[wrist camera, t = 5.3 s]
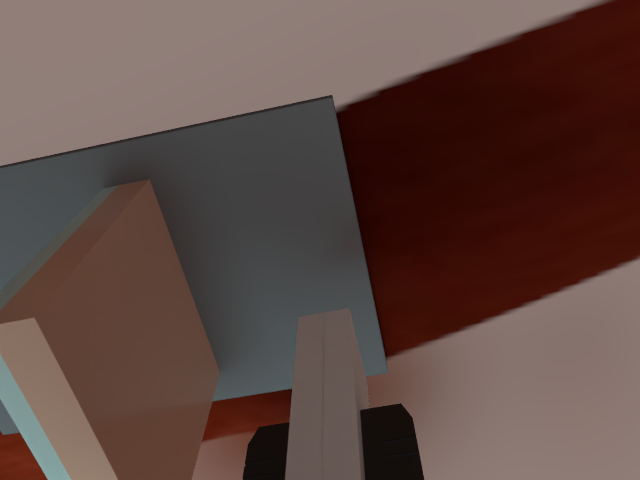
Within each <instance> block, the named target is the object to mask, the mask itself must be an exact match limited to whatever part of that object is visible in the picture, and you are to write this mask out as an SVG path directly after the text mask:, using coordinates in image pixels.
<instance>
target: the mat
mask: <svg viewBox="0 0 640 480" xmlns="http://www.w3.org/2000/svg"><path fill="white" fill-rule="evenodd" d="M147 179H150V182H151V185H152V187H153V190H154V193H155V196H156V198H157V201H158V204H159V207H160V209H161V212H162V215H163V217H164V220H165V223H166V226H167V228H168V231H169V234H170V237H171V239H172V242H173V245H174V248H175V250H176V253H177V256H178V259H179V261H180V264H181V267H182V269H183V272H184V275H185V278H186V280H187V283H188V286H189V289H190V291H191V294H192V297H193V300H194V302H195V305H196V308H197V311H198V313H199V316H200V319H201V321H202V324H203V327H204V330H205V332H206V335H207V338H208V341H209V343H210V346H211V349H212V352H213V354H214V357H215V360H216V363H217V365H218V368H219V371H220V374H219V378H218V381H217V385H216V389H215V393H214V397H213V400H212V401H217V400H223V399H230V398H236V397H242V396H248V395H254V394H261V393H267V392H273V391H279V390H285V389H292V388H293V376H294V364H295V352H296V340H297V328H298V317H302V316H308V315H313V314H319V313H325V312H330V311H336V310H342V309H347V308H350V311H351V316H352V320H353V324H354V329H355V333H356V337H357V342H358V346H359V351H360V355H361V359H362V364H363V368H364V372H365V377H366V376H372V375H378V374H385V373H388V367H387V363H386V357H385V352H384V348H383V343H382V338H381V333H380V328H379V323H378V318H377V313H376V308H375V303H374V298H373V293H372V288H371V284H370V279H369V274H368V269H367V264H366V259H365V254H364V249H363V244H362V239H361V234H360V229H359V224H358V220H357V215H356V210H355V205H354V200H353V195H352V190H351V185H350V180H349V175H348V170H347V165H346V161H345V156H344V151H343V146H342V141H341V136H340V131H339V126H338V121H337V116H336V111H335V106H334V102H333V97H332V95H330V96H325V97H321V98H316V99H311V100H307V101H302V102H297V103H293V104H289V105H283V106H279V107H274V108H269V109H264V110H260V111H255V112H251V113H246V114H241V115H236V116H232V117H227V118H222V119H218V120H213V121H209V122H204V123H200V124H194V125H190V126H186V127H180V128H176V129H172V130H166V131H162V132H157V133H152V134H148V135H143V136H138V137H134V138H129V139H124V140H120V141H116V142H111V143H106V144H101V145H96V146H92V147H88V148H83V149H78V150H73V151H68V152H65V153H59V154H54V155H50V156H45V157H41V158H36V159H31V160H26V161H22V162H17V163H13V164H8V165H3V166H0V291H1V290H2V289H3V288H4V287H5V286H6V285H7V284H8V283H9V282H10V281H11V280H12V279H13V278H14V277H15V276H16V275H17V274H18V273H19V272H20V271H21V270H22V269H23V268H24V267H25V266H26V265H27V264H28V263H29V262H30V261H31V260H32V259H33V258H34V257H35V256H36V255H37V254H38V253H39V252H40V251H41V250H42V249H43V248H44V247H45V246H46V245H47V244H48V243H49V242H50V241H51V240H52V239H53V238H54V237H55V236H56V235H57V234H58V233H59V232H60V231H61V230H62V229H63V228H64V227H65V226H66V225H67V224H68V223H69V222H70V221H71V220H72V219H73V218H74V217H75V216H76V215H77V214H78V213H79V212H80V211H81V210H82V209H83V208H84V207H85V206H86V205H87V204H88V203H89V202H90V201H91V200H92V199H93V198H94V197H95V196H96V195H97V194H98V193H99V192H100V191H101V190H102V189H103V188H108V187H113V186H118V185H123V184H127V183H132V182H137V181H142V180H147ZM0 431H1V432H2V434H3V435H6V434H12V433H19V432H20V431H19V430H18V428H17V426H16V425H15V423H14V421H13V420H12V418H11V416H10V415H9V413H8V411H7V409H6V408H5V406H4V404H3V403H2V401H1V399H0Z"/></svg>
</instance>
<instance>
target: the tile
mask: <svg viewBox="0 0 640 480" xmlns="http://www.w3.org/2000/svg"><path fill="white" fill-rule="evenodd" d="M219 374H220V371H219V368H218V365H217V363H216V360H215V357H214V354H213V352H212V349H211V346H210V343H209V341H208V338H207V335H206V332H205V330H204V327H203V324H202V321H201V319H200V316H199V313H198V311H197V308H196V305H195V302H194V300H193V297H192V294H191V291H190V289H189V286H188V283H187V280H186V278H185V275H184V272H183V269H182V267H181V264H180V261H179V259H178V256H177V253H176V250H175V248H174V245H173V242H172V239H171V237H170V234H169V231H168V228H167V226H166V223H165V220H164V217H163V215H162V212H161V209H160V207H159V204H158V201H157V198H156V196H155V193H154V190H153V187H152V185H151V182H150V179H147V180H142V181H137V182H132V183H127V184H123V185H118V186H113V187H108V188H103V189H102V190H101V191H100V192H99V193H98V194H97V195H96V196H95V197H94V198H93V199H92V200H91V201H90V202H89V203H88V204H87V205H86V206H85V207H84V208H83V209H82V210H81V211H80V212H79V213H78V214H77V215H76V216H75V217H74V218H73V219H72V220H71V221H70V222H69V223H68V224H67V225H66V226H65V227H64V228H63V229H62V230H61V231H60V232H59V233H58V234H57V235H56V236H55V237H54V238H53V239H52V240H51V241H50V242H49V243H48V244H47V245H46V246H45V247H44V248H43V249H42V250H41V251H40V252H39V253H38V254H37V255H36V256H35V257H34V258H33V259H32V260H31V261H30V262H29V263H28V264H27V265H26V266H25V267H24V268H23V269H22V270H21V271H20V272H19V273H18V274H17V275H16V276H15V277H14V278H13V279H12V280H11V281H10V282H9V283H8V284H7V285H6V286H5V287H4V288H3V289H2V290H1V291H0V399H1V401H2V403H3V404H4V406H5V408H6V409H7V411H8V413H9V415H10V416H11V418H12V420H13V421H14V423H15V425H16V426H17V428H18V430H19V431H20V433H21V435H22V436H23V438H24V440H25V442H26V443H27V445H28V447H29V448H30V450H31V452H32V453H33V455H34V457H35V458H36V460H37V462H38V464H39V465H40V467H41V469H42V470H43V472H44V474H45V475H46V477H47V479H48V480H192V476H193V472H194V469H195V465H196V461H197V457H198V453H199V449H200V446H201V442H202V438H203V434H204V431H205V427H206V423H207V419H208V415H209V412H210V408H211V404H212V400H213V397H214V393H215V389H216V385H217V381H218V378H219Z"/></svg>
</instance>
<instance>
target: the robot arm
mask: <svg viewBox="0 0 640 480" xmlns="http://www.w3.org/2000/svg"><path fill="white" fill-rule="evenodd" d="M243 480H424V476H423V470H422V465H421V460H420V454H419V450H418V444H417V439H416V434H415V429H414V424H413V418H412V417H411V416H410V414H409V413H408V412H407V410H406V409H405V408H404V407H403V406H402V404H396V405H388V406H382V407H376V408H369V400H368V390H367V381H366V377H365V372H364V368H363V364H362V359H361V355H360V351H359V346H358V342H357V337H356V333H355V329H354V324H353V320H352V316H351V311H350V308H347V309H342V310H336V311H330V312H325V313H319V314H313V315H308V316H302V317H298V328H297V340H296V352H295V364H294V376H293V389H292V401H291V413H290V422H289V423H282V424H276V425H270V426H263V427H259V428H258V430H257V431H256V433H255V434H254V436H253V438H252V439H251V441H250V442H249V444H248V449H247V455H246V461H245V467H244V473H243Z"/></svg>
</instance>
